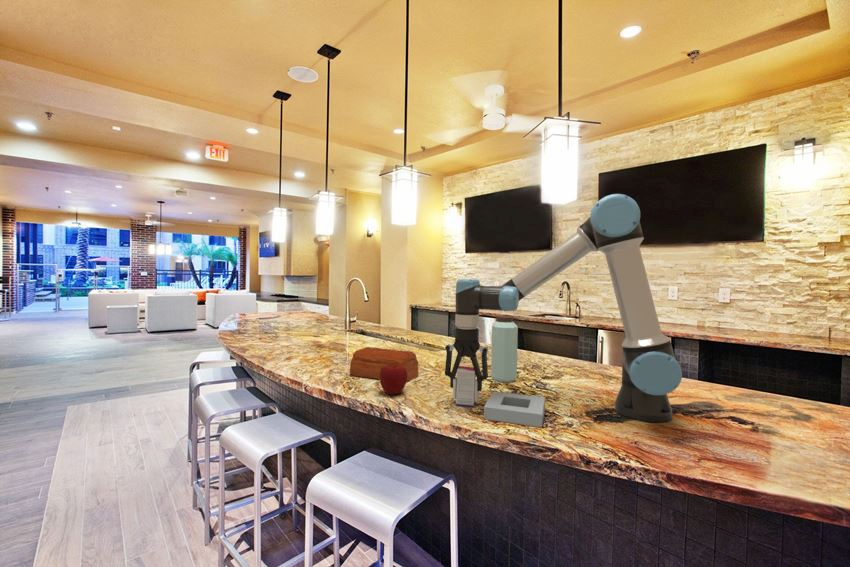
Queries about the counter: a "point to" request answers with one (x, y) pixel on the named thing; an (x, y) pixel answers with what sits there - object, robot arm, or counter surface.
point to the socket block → (515, 409)
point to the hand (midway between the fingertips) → (465, 399)
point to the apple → (393, 378)
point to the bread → (382, 362)
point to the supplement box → (465, 386)
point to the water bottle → (504, 349)
